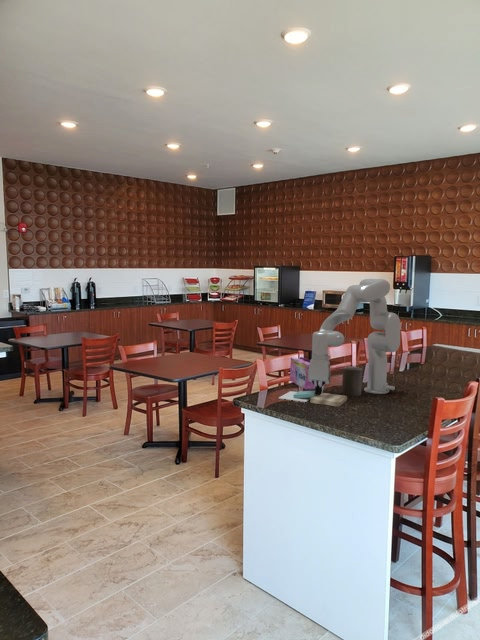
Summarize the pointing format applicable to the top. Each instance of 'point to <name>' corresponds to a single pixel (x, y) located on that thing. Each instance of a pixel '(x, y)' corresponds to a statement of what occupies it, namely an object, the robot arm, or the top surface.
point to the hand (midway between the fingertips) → (318, 394)
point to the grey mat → (290, 397)
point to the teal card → (304, 394)
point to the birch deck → (328, 399)
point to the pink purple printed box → (300, 372)
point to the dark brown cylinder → (351, 381)
